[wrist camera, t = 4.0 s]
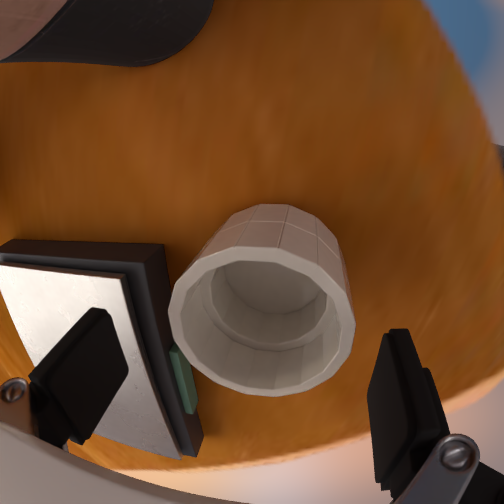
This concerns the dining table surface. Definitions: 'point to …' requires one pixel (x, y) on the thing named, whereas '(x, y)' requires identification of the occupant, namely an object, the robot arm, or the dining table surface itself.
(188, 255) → the dining table surface
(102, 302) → the platform
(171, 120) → the dining table surface
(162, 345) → the scale
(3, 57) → the travel mug
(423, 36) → the dining table surface
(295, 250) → the white cup
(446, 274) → the dining table surface
